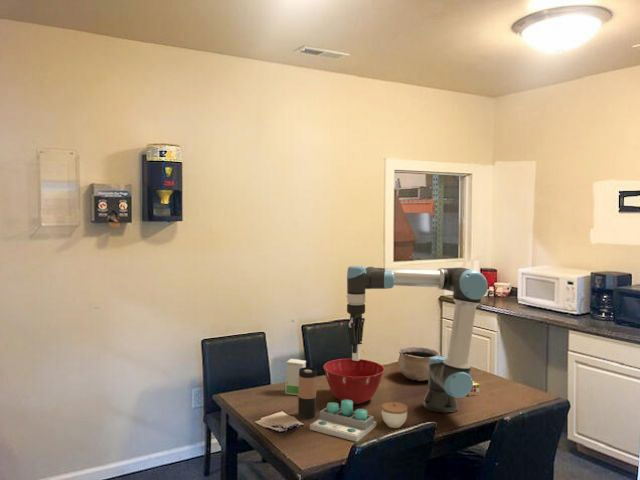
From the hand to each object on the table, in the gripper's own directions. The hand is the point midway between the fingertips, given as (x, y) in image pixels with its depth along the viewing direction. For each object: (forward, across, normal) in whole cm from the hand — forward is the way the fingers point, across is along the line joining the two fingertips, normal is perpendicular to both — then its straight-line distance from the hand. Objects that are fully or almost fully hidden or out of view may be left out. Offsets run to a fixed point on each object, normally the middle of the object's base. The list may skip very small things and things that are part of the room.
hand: (355, 360), depth 220 cm
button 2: (+21, +5, -2) cm, 22 cm away
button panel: (+26, +8, -2) cm, 27 cm away
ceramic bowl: (+28, -72, +4) cm, 78 cm away
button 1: (+24, +6, +5) cm, 25 cm away
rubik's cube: (+28, -64, +33) cm, 77 cm away
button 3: (+23, +5, -8) cm, 25 cm away
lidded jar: (+27, -6, +15) cm, 31 cm away
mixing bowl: (+27, -25, -13) cm, 39 cm away
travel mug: (+26, +5, -21) cm, 34 cm away
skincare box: (+26, -18, -40) cm, 51 cm away
